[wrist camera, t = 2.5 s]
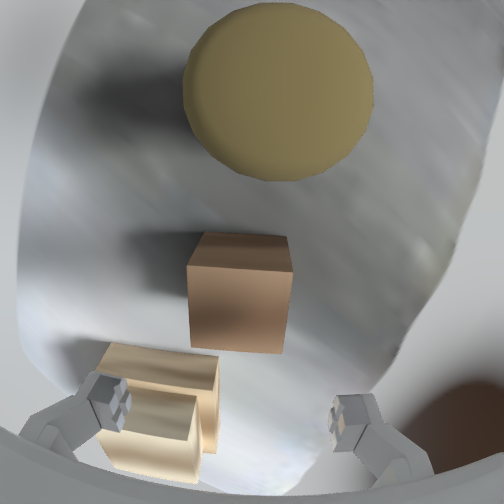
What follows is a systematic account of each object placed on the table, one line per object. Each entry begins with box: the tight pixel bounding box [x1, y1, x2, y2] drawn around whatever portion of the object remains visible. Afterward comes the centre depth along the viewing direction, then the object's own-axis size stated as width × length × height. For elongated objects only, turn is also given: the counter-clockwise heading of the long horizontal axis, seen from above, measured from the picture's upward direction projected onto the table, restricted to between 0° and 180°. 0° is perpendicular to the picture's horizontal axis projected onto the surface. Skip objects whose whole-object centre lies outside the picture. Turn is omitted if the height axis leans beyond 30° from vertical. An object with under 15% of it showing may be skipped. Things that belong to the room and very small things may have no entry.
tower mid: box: [95, 386, 204, 484], centre depth 19 cm, size 7×7×4 cm
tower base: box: [94, 342, 220, 454], centre depth 23 cm, size 9×9×4 cm
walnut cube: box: [187, 232, 293, 354], centre depth 18 cm, size 5×5×5 cm
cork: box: [183, 3, 374, 181], centre depth 11 cm, size 6×6×11 cm
